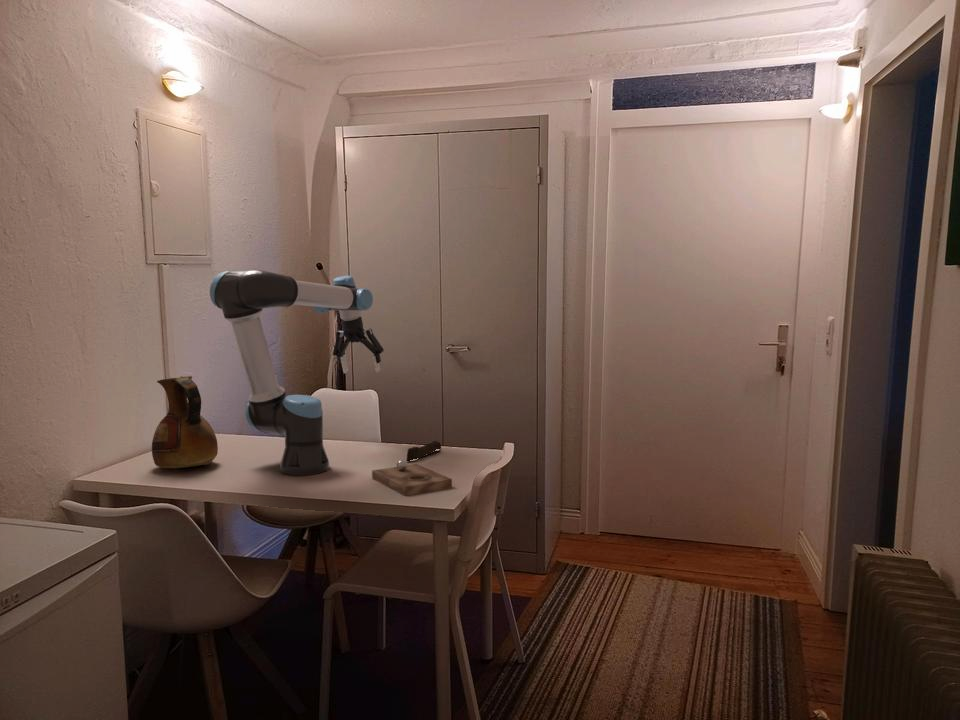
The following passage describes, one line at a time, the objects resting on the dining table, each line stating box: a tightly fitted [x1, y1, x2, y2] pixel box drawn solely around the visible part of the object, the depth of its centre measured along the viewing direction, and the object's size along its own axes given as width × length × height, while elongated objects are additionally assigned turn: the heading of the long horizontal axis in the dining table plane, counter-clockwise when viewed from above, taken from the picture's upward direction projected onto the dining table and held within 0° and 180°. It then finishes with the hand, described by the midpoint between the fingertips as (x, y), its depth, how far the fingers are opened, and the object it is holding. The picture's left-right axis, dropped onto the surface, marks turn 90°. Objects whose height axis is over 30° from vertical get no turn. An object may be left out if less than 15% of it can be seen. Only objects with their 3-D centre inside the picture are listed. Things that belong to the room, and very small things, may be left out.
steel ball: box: [396, 459, 408, 471], centre depth 209 cm, size 3×3×3 cm
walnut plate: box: [371, 463, 453, 497], centre depth 205 cm, size 15×22×2 cm
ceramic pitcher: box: [151, 375, 219, 469], centre depth 224 cm, size 20×20×30 cm
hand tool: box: [406, 440, 442, 462], centre depth 239 cm, size 19×4×5 cm, turn 150°
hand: (362, 371), depth 264 cm, fingers open, 13 cm apart
